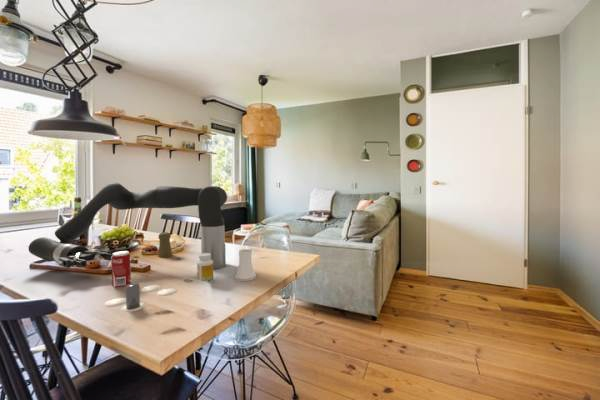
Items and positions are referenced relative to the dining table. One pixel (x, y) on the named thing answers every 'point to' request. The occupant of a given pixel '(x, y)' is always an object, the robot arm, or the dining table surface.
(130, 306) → the pin
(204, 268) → the supplement bottle
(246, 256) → the salt shaker
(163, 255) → the olive green pepper shaker
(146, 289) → the white oval discs
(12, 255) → the dining table surface
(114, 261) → the soda can
